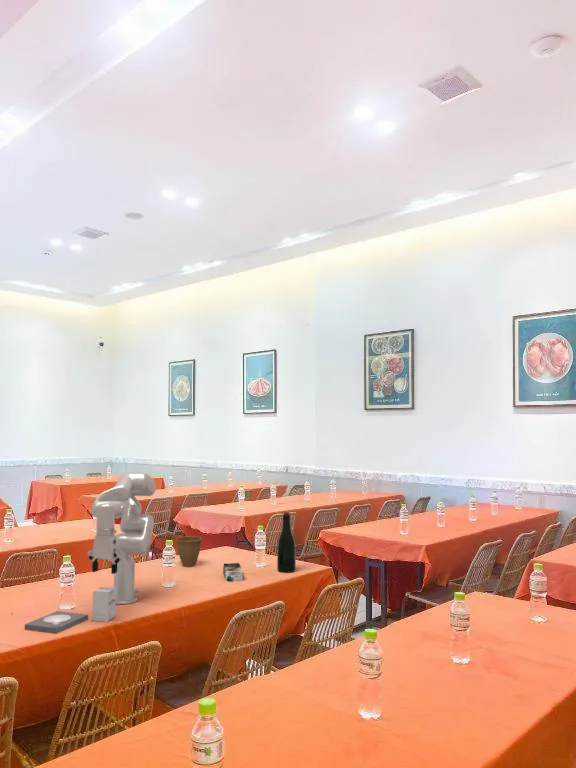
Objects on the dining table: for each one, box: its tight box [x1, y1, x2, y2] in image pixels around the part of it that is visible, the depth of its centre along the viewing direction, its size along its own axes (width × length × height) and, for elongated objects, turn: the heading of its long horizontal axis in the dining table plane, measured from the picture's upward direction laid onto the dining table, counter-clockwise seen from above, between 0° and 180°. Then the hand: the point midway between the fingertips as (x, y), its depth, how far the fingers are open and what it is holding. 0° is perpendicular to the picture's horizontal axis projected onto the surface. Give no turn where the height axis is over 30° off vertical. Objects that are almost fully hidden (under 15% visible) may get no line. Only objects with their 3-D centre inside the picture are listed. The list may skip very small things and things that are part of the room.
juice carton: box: [222, 562, 244, 582], centre depth 358 cm, size 20×10×6 cm, turn 10°
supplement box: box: [91, 586, 116, 623], centre depth 281 cm, size 7×7×13 cm
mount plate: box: [24, 610, 89, 634], centre depth 273 cm, size 20×16×3 cm
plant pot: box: [176, 535, 202, 568], centre depth 386 cm, size 15×15×16 cm
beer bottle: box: [276, 512, 297, 573], centre depth 374 cm, size 10×10×33 cm
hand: (104, 572), depth 282 cm, fingers open, 9 cm apart
